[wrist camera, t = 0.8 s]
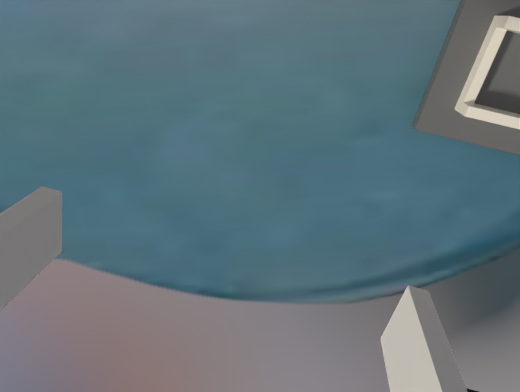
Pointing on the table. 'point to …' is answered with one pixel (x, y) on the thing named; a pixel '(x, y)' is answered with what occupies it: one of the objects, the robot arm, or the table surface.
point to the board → (477, 78)
